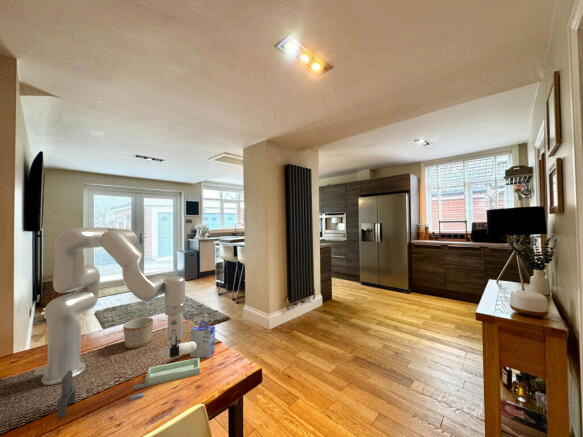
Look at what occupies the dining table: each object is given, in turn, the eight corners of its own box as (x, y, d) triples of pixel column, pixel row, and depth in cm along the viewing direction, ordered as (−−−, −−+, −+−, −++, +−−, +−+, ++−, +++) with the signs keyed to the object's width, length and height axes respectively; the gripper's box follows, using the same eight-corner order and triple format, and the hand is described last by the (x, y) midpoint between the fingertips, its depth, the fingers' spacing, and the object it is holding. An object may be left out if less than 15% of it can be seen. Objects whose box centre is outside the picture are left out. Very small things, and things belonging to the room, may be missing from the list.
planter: (117, 346, 114) (117, 325, 114) (142, 335, 125) (142, 315, 125) (134, 352, 109) (134, 330, 109) (158, 339, 120) (158, 319, 121)
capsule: (157, 361, 89) (157, 350, 89) (158, 355, 93) (158, 345, 93) (196, 353, 95) (196, 343, 95) (196, 348, 98) (196, 338, 98)
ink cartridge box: (215, 351, 109) (215, 320, 110) (210, 358, 104) (210, 326, 104) (195, 350, 110) (196, 319, 111) (189, 357, 105) (189, 325, 105)
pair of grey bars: (129, 400, 79) (129, 398, 79) (134, 387, 85) (134, 385, 85) (143, 397, 81) (143, 394, 81) (146, 384, 87) (146, 382, 87)
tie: (56, 417, 72) (57, 381, 72) (68, 402, 78) (68, 368, 78) (65, 415, 73) (65, 380, 73) (75, 400, 79) (76, 367, 79)
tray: (145, 386, 86) (145, 379, 86) (149, 373, 93) (149, 367, 93) (199, 373, 93) (199, 367, 93) (199, 362, 100) (199, 357, 101)
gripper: (184, 314, 87) (184, 362, 87) (186, 300, 103) (186, 341, 103) (161, 317, 85) (161, 367, 84) (167, 302, 100) (167, 345, 100)
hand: (175, 353), depth 93 cm, fingers closed on capsule, 4 cm apart
